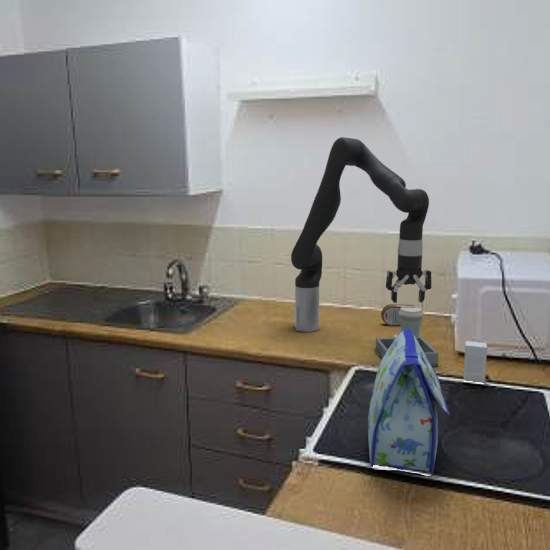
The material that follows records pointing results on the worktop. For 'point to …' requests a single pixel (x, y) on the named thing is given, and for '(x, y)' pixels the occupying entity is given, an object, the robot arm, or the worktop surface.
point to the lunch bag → (405, 408)
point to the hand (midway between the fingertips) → (407, 302)
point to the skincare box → (475, 361)
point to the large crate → (428, 350)
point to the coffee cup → (411, 319)
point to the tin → (392, 314)
